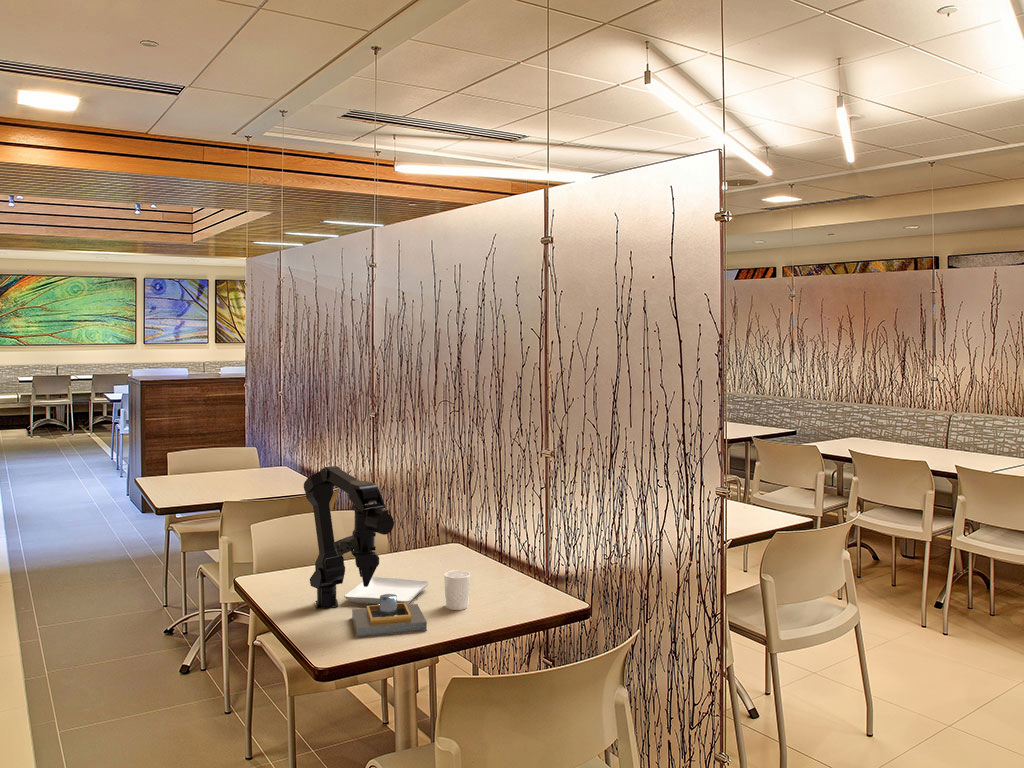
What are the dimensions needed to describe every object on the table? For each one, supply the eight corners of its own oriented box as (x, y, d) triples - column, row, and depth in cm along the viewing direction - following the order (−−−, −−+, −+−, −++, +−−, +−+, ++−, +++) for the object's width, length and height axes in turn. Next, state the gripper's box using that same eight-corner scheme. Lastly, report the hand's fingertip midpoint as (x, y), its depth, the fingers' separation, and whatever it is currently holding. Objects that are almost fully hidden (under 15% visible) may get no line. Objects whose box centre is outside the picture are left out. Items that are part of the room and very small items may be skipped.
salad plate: (408, 611, 232) (408, 600, 231) (342, 606, 236) (342, 595, 236) (430, 590, 252) (430, 580, 252) (369, 586, 257) (369, 575, 257)
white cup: (470, 602, 239) (470, 570, 239) (469, 610, 231) (469, 577, 231) (444, 602, 239) (444, 570, 238) (443, 611, 231) (443, 577, 231)
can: (378, 622, 221) (378, 594, 221) (395, 620, 222) (395, 593, 222) (380, 628, 216) (380, 599, 216) (397, 626, 218) (398, 598, 217)
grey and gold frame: (352, 618, 224) (352, 604, 224) (417, 612, 230) (417, 599, 229) (356, 637, 209) (356, 622, 209) (426, 630, 214) (426, 616, 214)
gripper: (333, 521, 227) (332, 573, 228) (338, 537, 209) (337, 594, 210) (371, 519, 230) (370, 571, 231) (379, 535, 212) (379, 591, 213)
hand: (363, 581), depth 221 cm, fingers open, 9 cm apart
